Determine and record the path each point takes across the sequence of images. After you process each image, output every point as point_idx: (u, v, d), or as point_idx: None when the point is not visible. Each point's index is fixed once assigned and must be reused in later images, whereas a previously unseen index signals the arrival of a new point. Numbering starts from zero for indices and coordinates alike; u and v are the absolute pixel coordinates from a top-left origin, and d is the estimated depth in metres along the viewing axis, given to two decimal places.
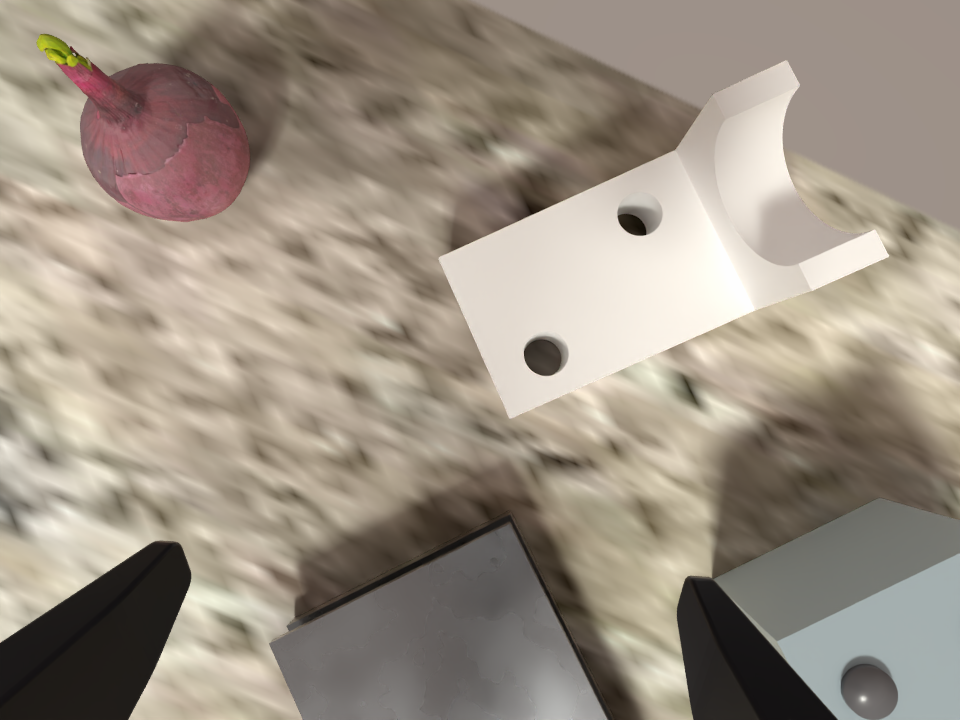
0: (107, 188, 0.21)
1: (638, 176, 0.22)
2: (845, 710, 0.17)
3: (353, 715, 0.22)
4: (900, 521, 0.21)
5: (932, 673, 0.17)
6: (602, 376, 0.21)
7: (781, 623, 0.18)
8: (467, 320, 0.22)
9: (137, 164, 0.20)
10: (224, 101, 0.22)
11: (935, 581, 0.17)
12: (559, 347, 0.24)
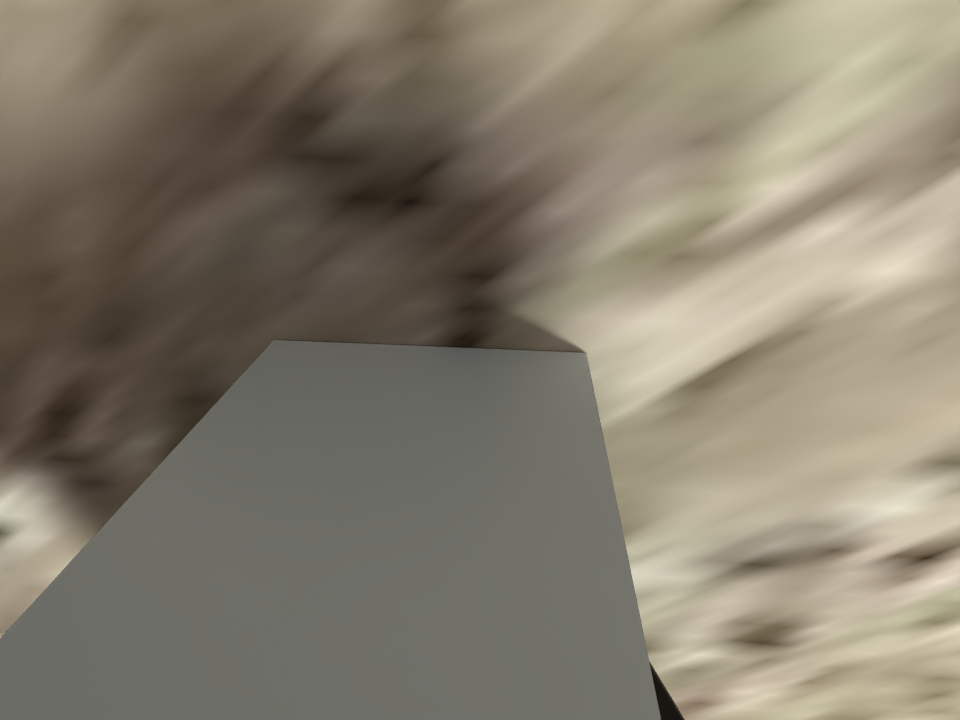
0: None
1: None
2: None
3: None
4: None
5: None
6: None
7: None
8: None
9: None
10: None
11: None
12: None
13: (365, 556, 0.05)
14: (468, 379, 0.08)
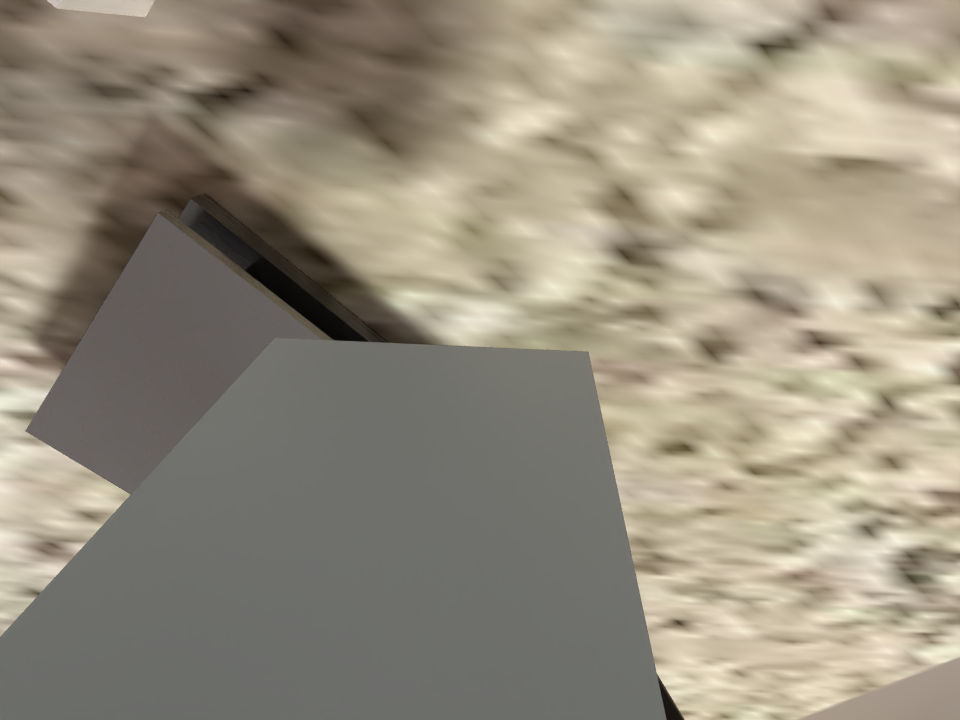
0: None
1: None
2: None
3: (148, 464, 0.20)
4: None
5: None
6: None
7: None
8: None
9: None
10: None
11: None
12: None
13: (368, 554, 0.05)
14: (470, 378, 0.08)
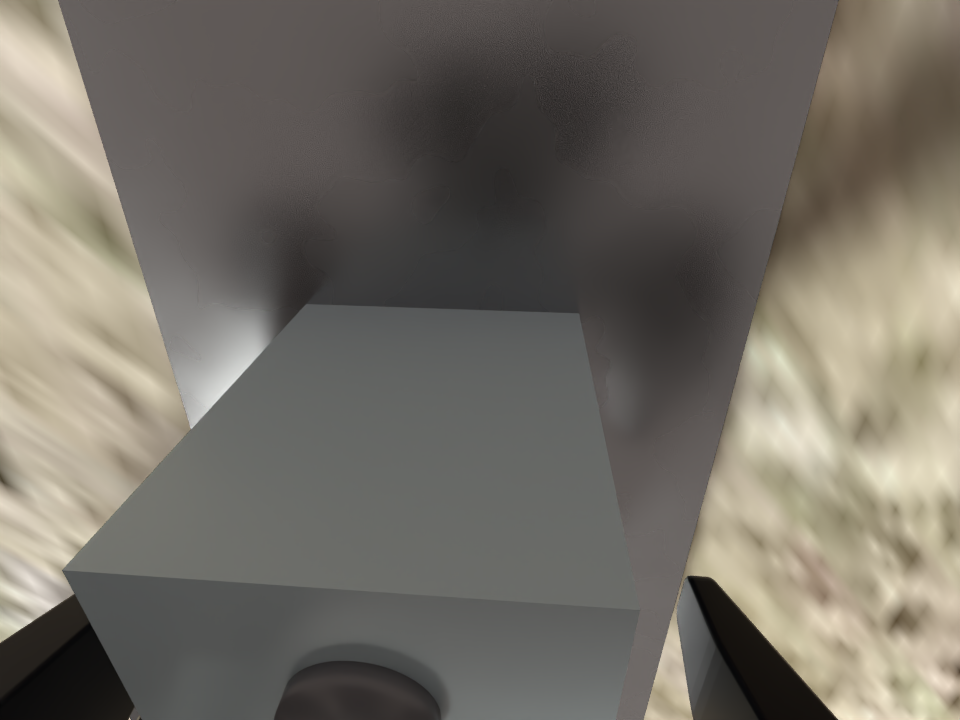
0: None
1: None
2: None
3: (239, 249, 0.10)
4: None
5: None
6: None
7: None
8: None
9: None
10: None
11: None
12: None
13: (399, 453, 0.06)
14: (477, 333, 0.09)
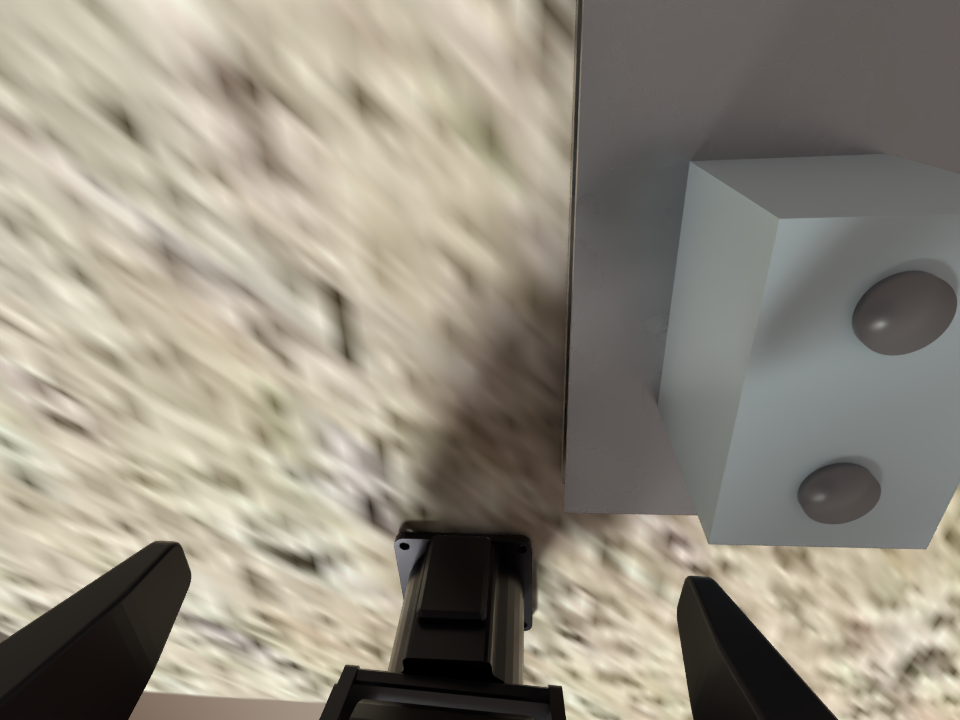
0: None
1: None
2: (838, 519, 0.13)
3: (653, 122, 0.14)
4: (713, 224, 0.13)
5: (884, 414, 0.11)
6: None
7: (703, 503, 0.14)
8: None
9: None
10: None
11: (775, 350, 0.11)
12: None
13: (880, 190, 0.11)
14: (834, 162, 0.14)
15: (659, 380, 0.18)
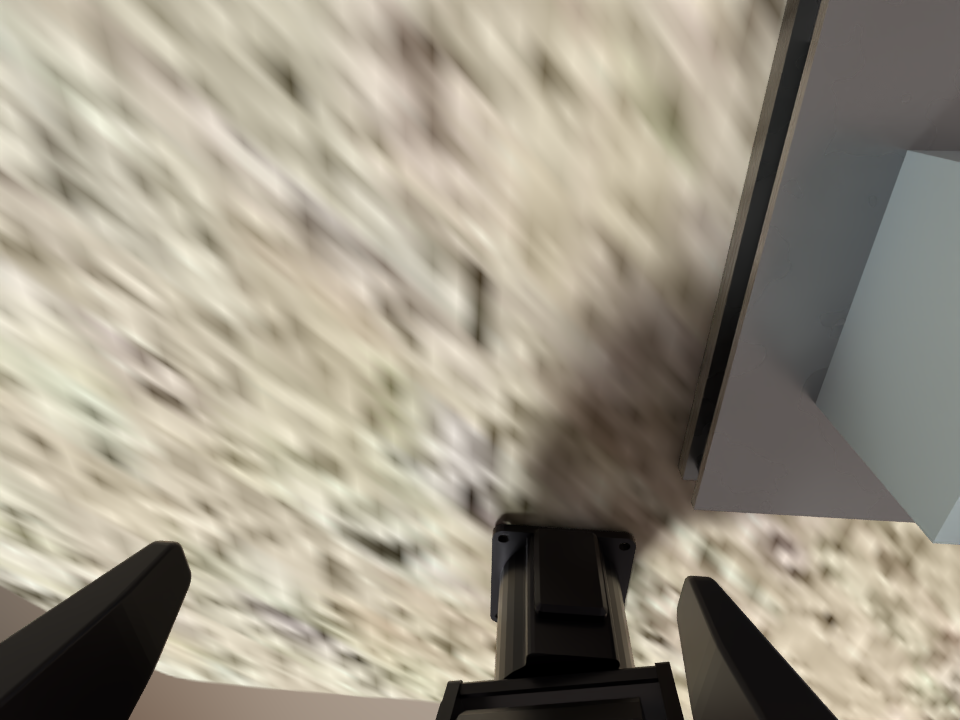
0: None
1: None
2: None
3: (879, 107, 0.14)
4: None
5: None
6: None
7: (921, 501, 0.13)
8: None
9: None
10: None
11: None
12: None
13: None
14: None
15: (823, 376, 0.18)
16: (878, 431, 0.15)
